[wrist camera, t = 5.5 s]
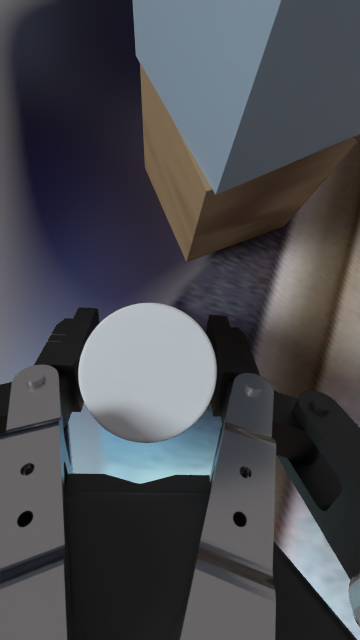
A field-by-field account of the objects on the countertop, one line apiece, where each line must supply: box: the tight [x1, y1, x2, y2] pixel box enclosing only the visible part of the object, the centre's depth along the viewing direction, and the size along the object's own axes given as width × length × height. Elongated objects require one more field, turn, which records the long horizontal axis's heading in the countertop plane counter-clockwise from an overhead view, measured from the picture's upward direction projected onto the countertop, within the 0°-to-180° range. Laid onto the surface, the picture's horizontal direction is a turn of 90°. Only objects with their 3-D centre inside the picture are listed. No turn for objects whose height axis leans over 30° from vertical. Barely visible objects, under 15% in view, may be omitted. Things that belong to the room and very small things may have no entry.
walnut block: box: [140, 63, 357, 262], centre depth 15 cm, size 7×7×7 cm
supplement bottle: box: [78, 303, 217, 443], centre depth 12 cm, size 5×5×8 cm
